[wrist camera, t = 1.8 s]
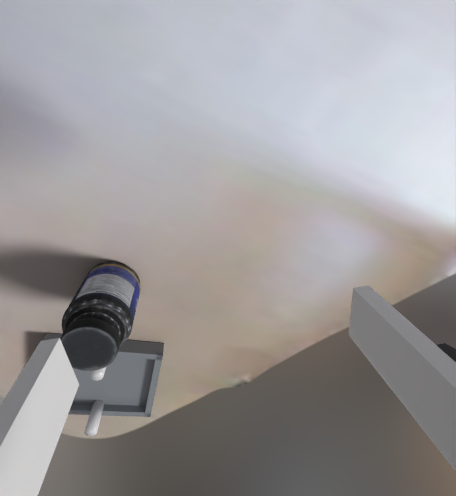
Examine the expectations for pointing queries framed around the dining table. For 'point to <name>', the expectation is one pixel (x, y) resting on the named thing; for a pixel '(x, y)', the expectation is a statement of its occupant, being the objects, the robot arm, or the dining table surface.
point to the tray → (118, 384)
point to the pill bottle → (100, 316)
